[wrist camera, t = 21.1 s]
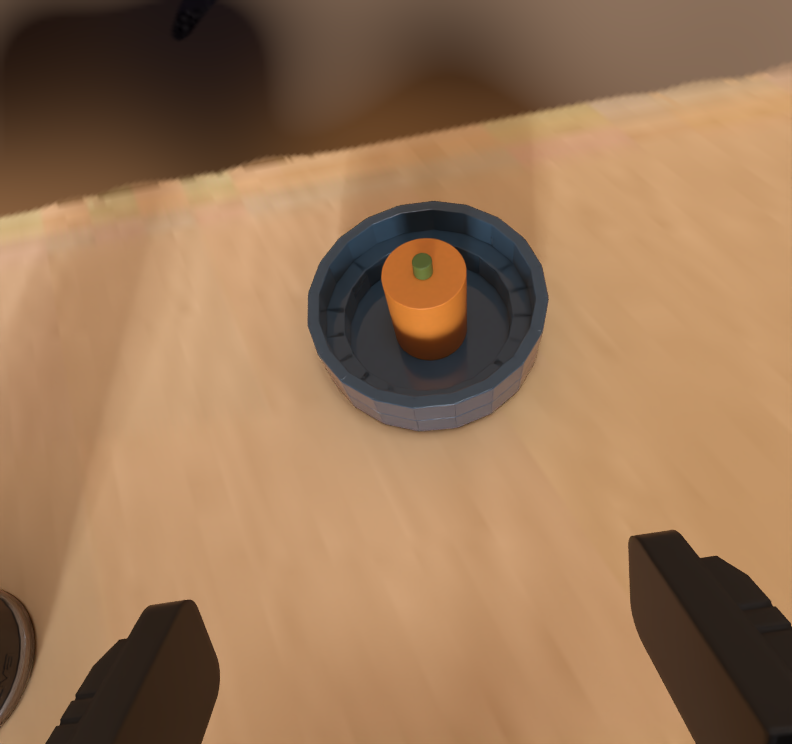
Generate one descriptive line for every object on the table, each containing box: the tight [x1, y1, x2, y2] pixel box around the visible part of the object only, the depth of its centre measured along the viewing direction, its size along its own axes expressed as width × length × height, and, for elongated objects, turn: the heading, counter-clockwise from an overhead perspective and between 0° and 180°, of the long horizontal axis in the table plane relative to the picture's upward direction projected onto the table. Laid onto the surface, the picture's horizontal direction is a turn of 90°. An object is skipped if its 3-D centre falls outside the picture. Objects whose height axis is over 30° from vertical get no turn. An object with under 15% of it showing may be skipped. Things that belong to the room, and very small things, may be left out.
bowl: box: [308, 201, 549, 431], centre depth 37 cm, size 16×16×5 cm
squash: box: [381, 238, 467, 360], centre depth 35 cm, size 5×5×8 cm
